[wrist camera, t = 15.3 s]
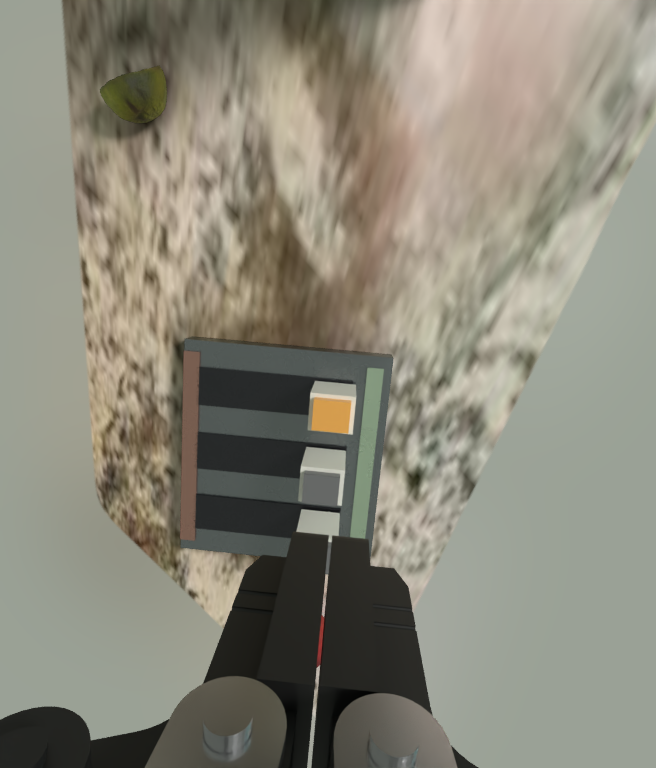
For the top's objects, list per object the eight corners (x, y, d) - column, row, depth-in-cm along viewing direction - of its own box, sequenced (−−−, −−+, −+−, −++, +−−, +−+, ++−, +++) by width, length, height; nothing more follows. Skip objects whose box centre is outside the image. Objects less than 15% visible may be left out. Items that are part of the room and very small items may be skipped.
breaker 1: (306, 446, 41) (299, 470, 36) (345, 450, 41) (344, 474, 36) (303, 478, 42) (297, 506, 36) (342, 482, 41) (341, 510, 36)
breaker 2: (301, 509, 42) (294, 540, 37) (339, 513, 42) (338, 545, 37) (299, 538, 43) (291, 573, 38) (336, 543, 43) (334, 578, 38)
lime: (112, 111, 38) (77, 86, 34) (141, 57, 37) (110, 23, 33) (157, 145, 39) (129, 124, 34) (187, 92, 38) (163, 63, 33)
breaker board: (192, 336, 42) (183, 339, 40) (391, 354, 41) (393, 358, 39) (187, 536, 46) (180, 548, 44) (368, 555, 46) (369, 568, 43)
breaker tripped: (315, 380, 40) (309, 395, 34) (355, 384, 40) (356, 399, 34) (312, 414, 40) (306, 433, 35) (352, 418, 40) (352, 437, 35)
